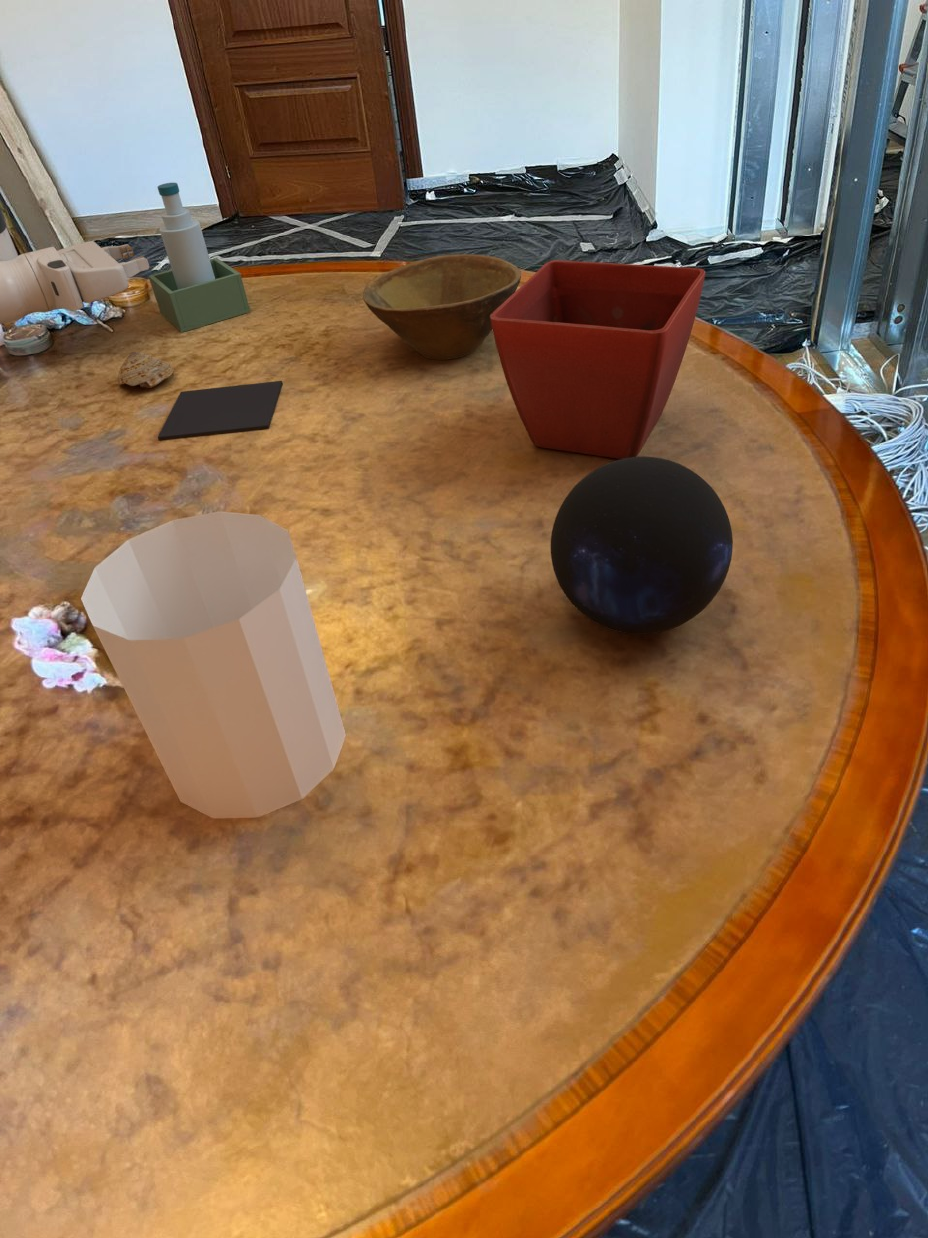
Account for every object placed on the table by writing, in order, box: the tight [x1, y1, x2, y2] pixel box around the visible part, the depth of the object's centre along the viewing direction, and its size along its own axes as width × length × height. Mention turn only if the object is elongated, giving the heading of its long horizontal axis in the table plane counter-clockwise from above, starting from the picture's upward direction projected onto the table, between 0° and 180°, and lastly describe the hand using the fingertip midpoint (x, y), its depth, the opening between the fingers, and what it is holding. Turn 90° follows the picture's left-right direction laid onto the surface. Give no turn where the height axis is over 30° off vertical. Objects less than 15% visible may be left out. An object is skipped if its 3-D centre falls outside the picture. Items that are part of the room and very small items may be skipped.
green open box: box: [148, 257, 252, 333], centre depth 149 cm, size 13×13×7 cm
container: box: [80, 510, 347, 819], centre depth 64 cm, size 14×14×18 cm
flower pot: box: [490, 259, 706, 460], centre depth 99 cm, size 19×19×17 cm
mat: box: [157, 380, 283, 441], centre depth 119 cm, size 15×14×1 cm
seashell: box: [117, 351, 175, 389], centre depth 129 cm, size 8×6×8 cm
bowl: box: [362, 253, 522, 361], centre depth 126 cm, size 22×23×10 cm
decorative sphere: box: [550, 456, 734, 635], centre depth 73 cm, size 15×15×15 cm
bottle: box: [156, 182, 215, 290], centre depth 144 cm, size 7×7×20 cm
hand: (139, 255), depth 141 cm, fingers open, 8 cm apart
